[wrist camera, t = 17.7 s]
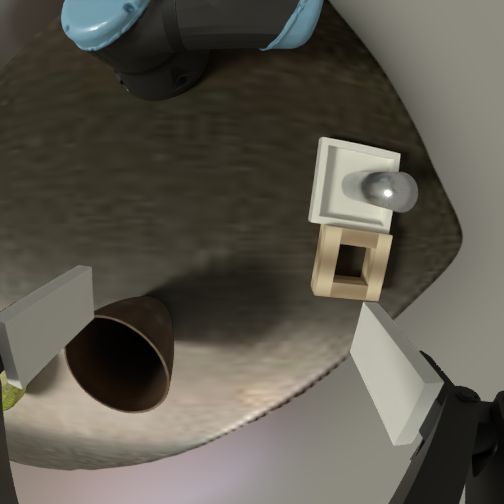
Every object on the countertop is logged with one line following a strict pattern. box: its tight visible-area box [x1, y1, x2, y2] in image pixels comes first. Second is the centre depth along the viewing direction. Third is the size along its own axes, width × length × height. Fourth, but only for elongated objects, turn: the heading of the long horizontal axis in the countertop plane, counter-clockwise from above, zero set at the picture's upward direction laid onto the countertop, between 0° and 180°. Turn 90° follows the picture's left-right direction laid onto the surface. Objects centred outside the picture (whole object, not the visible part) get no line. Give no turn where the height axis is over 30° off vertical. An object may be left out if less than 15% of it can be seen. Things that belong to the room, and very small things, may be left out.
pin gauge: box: [341, 172, 418, 212], centre depth 36 cm, size 4×4×16 cm
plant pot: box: [64, 296, 174, 413], centre depth 42 cm, size 15×15×16 cm
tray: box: [308, 137, 400, 234], centre depth 43 cm, size 12×12×2 cm
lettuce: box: [0, 371, 27, 411], centre depth 48 cm, size 13×22×14 cm, turn 119°
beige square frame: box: [311, 224, 393, 301], centre depth 45 cm, size 10×10×4 cm
